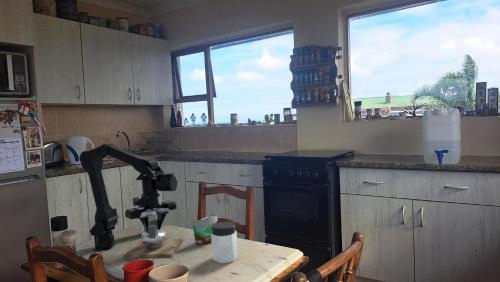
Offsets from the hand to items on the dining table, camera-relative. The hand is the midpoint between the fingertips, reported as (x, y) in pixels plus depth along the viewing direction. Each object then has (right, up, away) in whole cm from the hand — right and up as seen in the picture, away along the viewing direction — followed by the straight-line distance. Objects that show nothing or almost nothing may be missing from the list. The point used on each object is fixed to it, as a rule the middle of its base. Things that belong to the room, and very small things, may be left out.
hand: (153, 231), depth 140 cm
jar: (+29, -7, -13) cm, 32 cm away
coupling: (0, -4, +1) cm, 4 cm away
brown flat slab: (0, -7, 0) cm, 7 cm away
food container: (+21, -6, +6) cm, 22 cm away
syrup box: (-7, -6, +21) cm, 23 cm away
